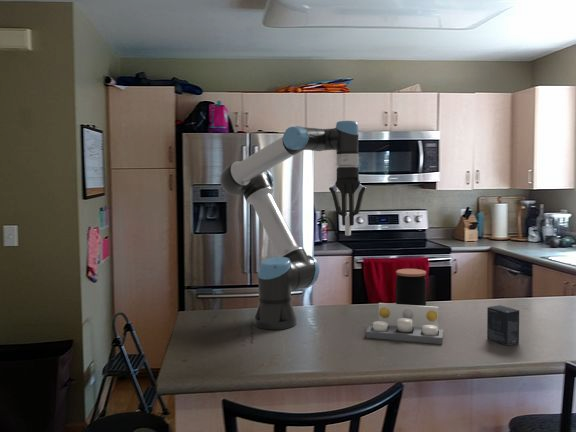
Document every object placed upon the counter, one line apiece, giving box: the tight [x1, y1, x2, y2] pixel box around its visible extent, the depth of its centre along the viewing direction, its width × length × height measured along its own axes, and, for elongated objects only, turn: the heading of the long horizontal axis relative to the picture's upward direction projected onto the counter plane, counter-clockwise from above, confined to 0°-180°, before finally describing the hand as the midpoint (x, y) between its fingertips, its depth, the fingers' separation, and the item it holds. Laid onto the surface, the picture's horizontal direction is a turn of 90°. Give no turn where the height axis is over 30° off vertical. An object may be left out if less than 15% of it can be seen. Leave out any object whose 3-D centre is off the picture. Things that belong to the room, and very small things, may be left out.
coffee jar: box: [395, 268, 427, 306], centre depth 188 cm, size 11×11×18 cm
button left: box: [372, 320, 388, 332], centre depth 172 cm, size 5×5×3 cm
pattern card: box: [378, 302, 439, 328], centre depth 179 cm, size 20×1×8 cm, turn 71°
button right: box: [422, 325, 439, 336], centre depth 167 cm, size 5×5×3 cm
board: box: [365, 323, 444, 345], centre depth 170 cm, size 24×9×2 cm, turn 71°
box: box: [486, 304, 520, 346], centre depth 163 cm, size 8×6×11 cm
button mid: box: [397, 318, 412, 332], centre depth 170 cm, size 5×5×3 cm
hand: (348, 234), depth 179 cm, fingers closed
